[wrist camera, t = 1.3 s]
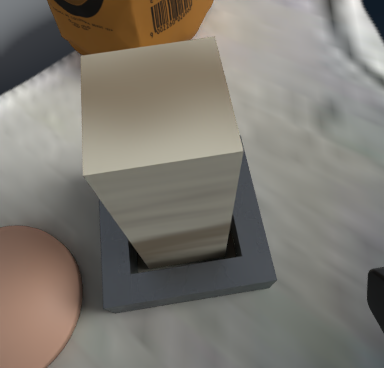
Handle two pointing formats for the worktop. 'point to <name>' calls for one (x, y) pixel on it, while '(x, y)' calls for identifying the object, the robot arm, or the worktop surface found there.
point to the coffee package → (126, 22)
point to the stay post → (162, 147)
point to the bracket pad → (36, 297)
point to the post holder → (189, 274)
